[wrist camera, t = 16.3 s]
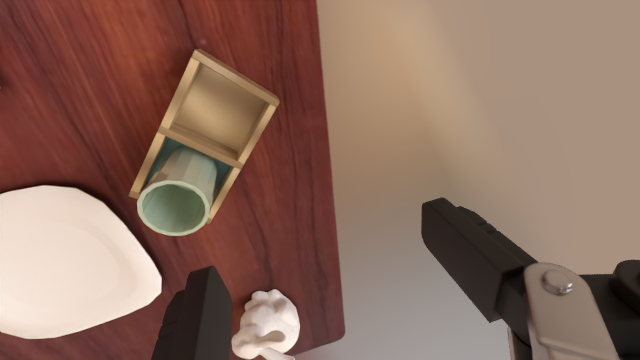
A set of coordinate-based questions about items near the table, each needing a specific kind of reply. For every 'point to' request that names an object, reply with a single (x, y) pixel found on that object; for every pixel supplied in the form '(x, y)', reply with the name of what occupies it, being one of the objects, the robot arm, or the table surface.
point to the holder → (211, 122)
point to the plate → (67, 263)
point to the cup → (179, 193)
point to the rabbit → (267, 327)
